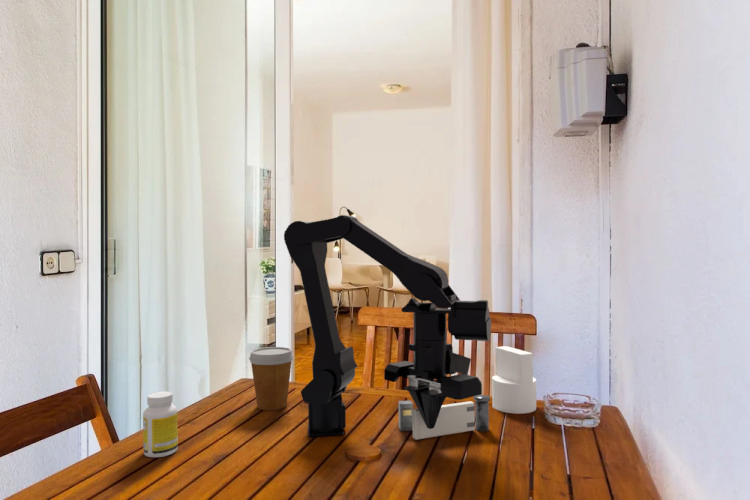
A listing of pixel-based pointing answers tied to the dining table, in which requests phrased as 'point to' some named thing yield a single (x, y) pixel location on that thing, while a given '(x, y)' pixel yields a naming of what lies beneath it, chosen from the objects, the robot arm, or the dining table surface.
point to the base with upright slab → (514, 381)
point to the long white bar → (446, 421)
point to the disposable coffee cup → (271, 376)
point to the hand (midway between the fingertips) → (430, 428)
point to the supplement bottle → (160, 425)
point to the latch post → (405, 415)
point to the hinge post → (482, 412)
